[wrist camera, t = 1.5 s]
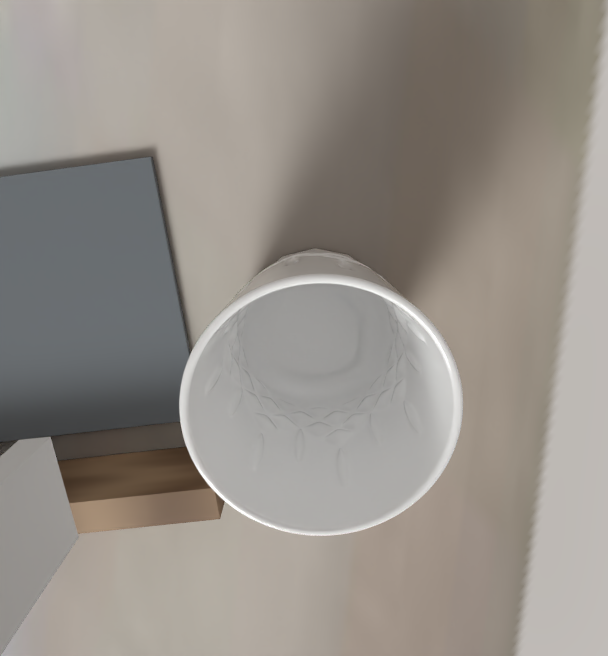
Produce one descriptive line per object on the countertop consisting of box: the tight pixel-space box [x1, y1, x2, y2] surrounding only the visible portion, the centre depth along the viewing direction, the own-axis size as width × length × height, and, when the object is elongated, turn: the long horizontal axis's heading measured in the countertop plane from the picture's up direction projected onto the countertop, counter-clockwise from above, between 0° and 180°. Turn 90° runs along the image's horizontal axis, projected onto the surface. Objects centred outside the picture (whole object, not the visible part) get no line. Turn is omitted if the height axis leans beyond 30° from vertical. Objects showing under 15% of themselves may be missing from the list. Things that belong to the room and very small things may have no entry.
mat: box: [0, 157, 190, 442], centre depth 24 cm, size 12×12×1 cm
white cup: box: [179, 248, 463, 536], centre depth 20 cm, size 8×8×10 cm
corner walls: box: [57, 447, 225, 534], centre depth 23 cm, size 16×14×4 cm
